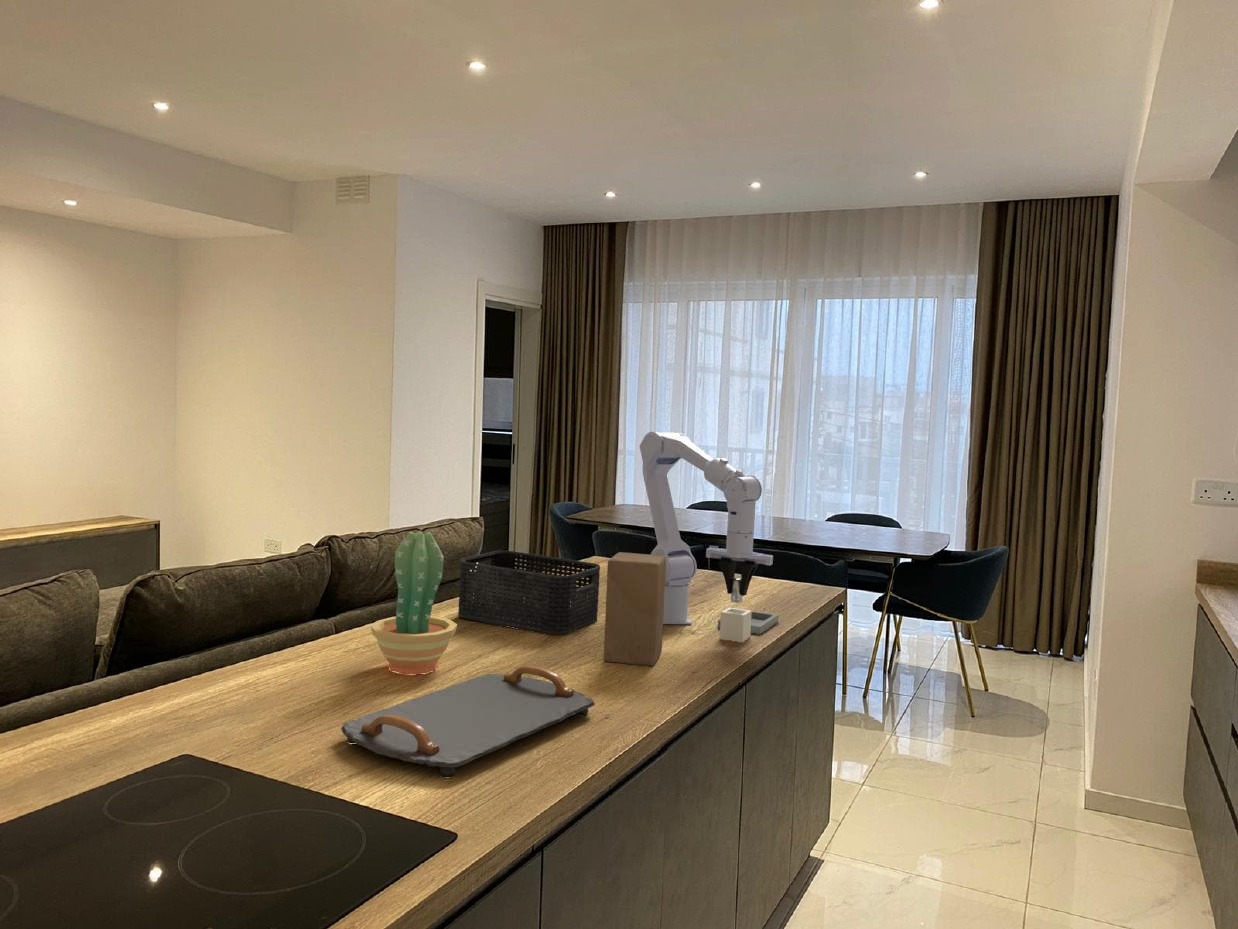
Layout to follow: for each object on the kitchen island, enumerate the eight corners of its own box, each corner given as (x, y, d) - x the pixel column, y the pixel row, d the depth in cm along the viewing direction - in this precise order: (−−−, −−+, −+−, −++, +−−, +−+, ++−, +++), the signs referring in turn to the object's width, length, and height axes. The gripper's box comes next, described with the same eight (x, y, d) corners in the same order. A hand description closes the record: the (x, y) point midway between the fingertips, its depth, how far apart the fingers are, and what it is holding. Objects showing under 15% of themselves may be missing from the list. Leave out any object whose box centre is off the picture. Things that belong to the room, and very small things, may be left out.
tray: (760, 634, 202) (760, 626, 202) (717, 628, 206) (718, 620, 206) (778, 622, 214) (778, 614, 214) (737, 616, 219) (738, 608, 219)
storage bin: (603, 620, 210) (605, 563, 209) (561, 638, 192) (564, 575, 191) (499, 603, 222) (501, 549, 221) (451, 618, 205) (453, 560, 204)
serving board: (499, 684, 160) (500, 650, 160) (608, 714, 148) (610, 676, 147) (320, 750, 128) (321, 707, 128) (440, 794, 115) (441, 747, 115)
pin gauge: (732, 602, 195) (734, 579, 195) (729, 600, 198) (730, 577, 197) (743, 602, 196) (744, 580, 195) (739, 600, 198) (741, 577, 198)
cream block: (742, 643, 194) (743, 615, 194) (719, 639, 197) (720, 612, 196) (750, 637, 199) (751, 610, 199) (727, 634, 201) (729, 607, 201)
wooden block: (653, 667, 174) (658, 563, 172) (602, 662, 175) (607, 559, 174) (661, 653, 183) (666, 555, 182) (613, 648, 185) (617, 551, 184)
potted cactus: (469, 662, 172) (474, 530, 170) (431, 685, 157) (436, 542, 155) (396, 652, 176) (400, 524, 174) (352, 674, 161) (356, 534, 159)
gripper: (702, 530, 195) (698, 592, 196) (767, 537, 189) (763, 602, 190) (714, 526, 202) (710, 587, 203) (777, 533, 195) (773, 596, 196)
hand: (736, 594), depth 197 cm, fingers closed on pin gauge, 2 cm apart
